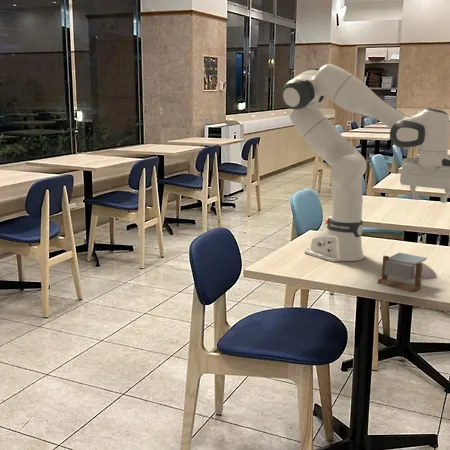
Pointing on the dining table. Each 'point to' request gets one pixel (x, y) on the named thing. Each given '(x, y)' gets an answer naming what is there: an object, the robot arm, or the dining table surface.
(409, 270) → the trapdoor
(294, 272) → the dining table surface
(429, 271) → the seashell
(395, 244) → the dining table surface
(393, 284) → the frame
